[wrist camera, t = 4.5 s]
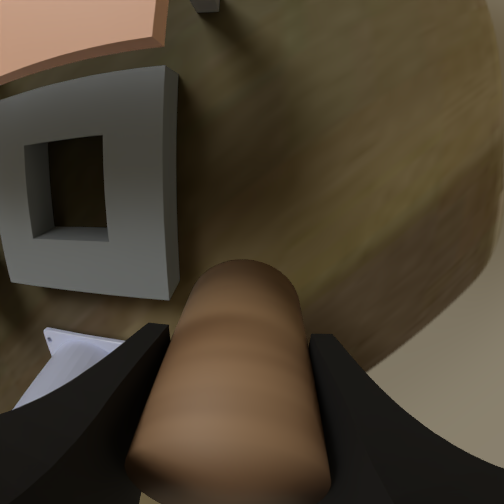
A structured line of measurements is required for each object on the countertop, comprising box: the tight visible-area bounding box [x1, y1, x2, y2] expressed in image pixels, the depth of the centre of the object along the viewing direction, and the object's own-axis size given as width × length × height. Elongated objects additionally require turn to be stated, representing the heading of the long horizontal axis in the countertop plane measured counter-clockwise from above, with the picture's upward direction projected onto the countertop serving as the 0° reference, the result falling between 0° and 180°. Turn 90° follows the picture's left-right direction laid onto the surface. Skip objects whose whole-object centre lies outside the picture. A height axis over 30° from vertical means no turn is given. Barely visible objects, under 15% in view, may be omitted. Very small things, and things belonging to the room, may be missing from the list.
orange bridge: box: [0, 0, 220, 85], centre depth 9 cm, size 6×18×10 cm, turn 88°
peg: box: [124, 260, 331, 504], centre depth 8 cm, size 4×4×7 cm
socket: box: [0, 65, 180, 300], centre depth 16 cm, size 12×12×2 cm
